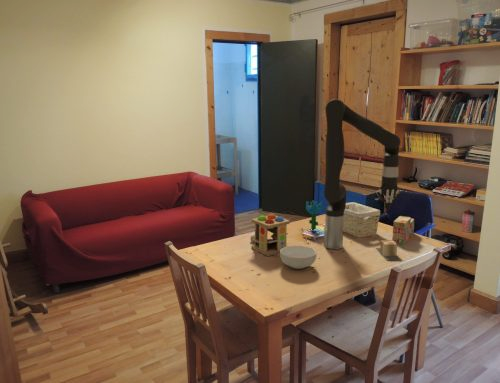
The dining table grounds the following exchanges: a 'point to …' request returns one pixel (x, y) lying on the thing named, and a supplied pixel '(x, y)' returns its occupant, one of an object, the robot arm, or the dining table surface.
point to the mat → (390, 257)
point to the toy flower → (313, 212)
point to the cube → (388, 248)
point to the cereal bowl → (298, 256)
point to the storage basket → (360, 220)
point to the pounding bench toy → (273, 226)
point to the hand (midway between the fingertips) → (387, 209)
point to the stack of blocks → (402, 229)
